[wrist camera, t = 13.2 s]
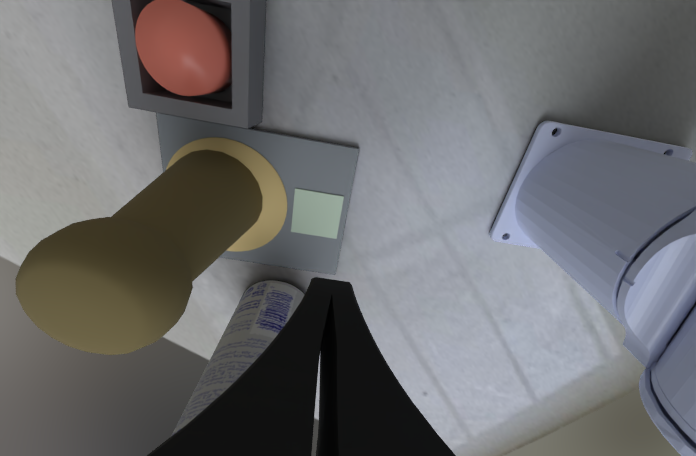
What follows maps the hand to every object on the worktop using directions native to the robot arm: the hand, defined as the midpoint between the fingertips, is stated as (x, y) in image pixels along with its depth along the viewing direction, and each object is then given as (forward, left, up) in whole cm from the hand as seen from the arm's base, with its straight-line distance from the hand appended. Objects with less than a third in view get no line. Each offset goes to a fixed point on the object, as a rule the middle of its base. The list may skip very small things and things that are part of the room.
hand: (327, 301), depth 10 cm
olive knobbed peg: (+8, +1, -10) cm, 13 cm away
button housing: (+8, -7, -10) cm, 15 cm away
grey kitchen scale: (+5, +1, -10) cm, 12 cm away
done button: (+8, -7, -10) cm, 15 cm away
